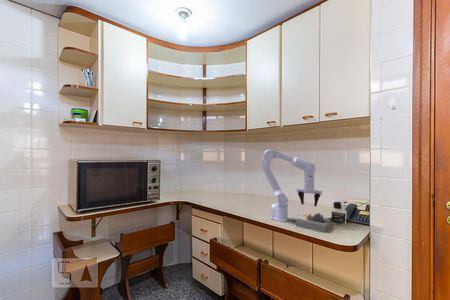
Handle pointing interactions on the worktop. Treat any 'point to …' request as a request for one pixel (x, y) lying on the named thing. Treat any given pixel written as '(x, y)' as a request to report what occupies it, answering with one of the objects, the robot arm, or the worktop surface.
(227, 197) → the worktop surface
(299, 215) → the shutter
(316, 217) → the plug
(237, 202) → the worktop surface
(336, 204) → the medicine bottle
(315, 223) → the socket
